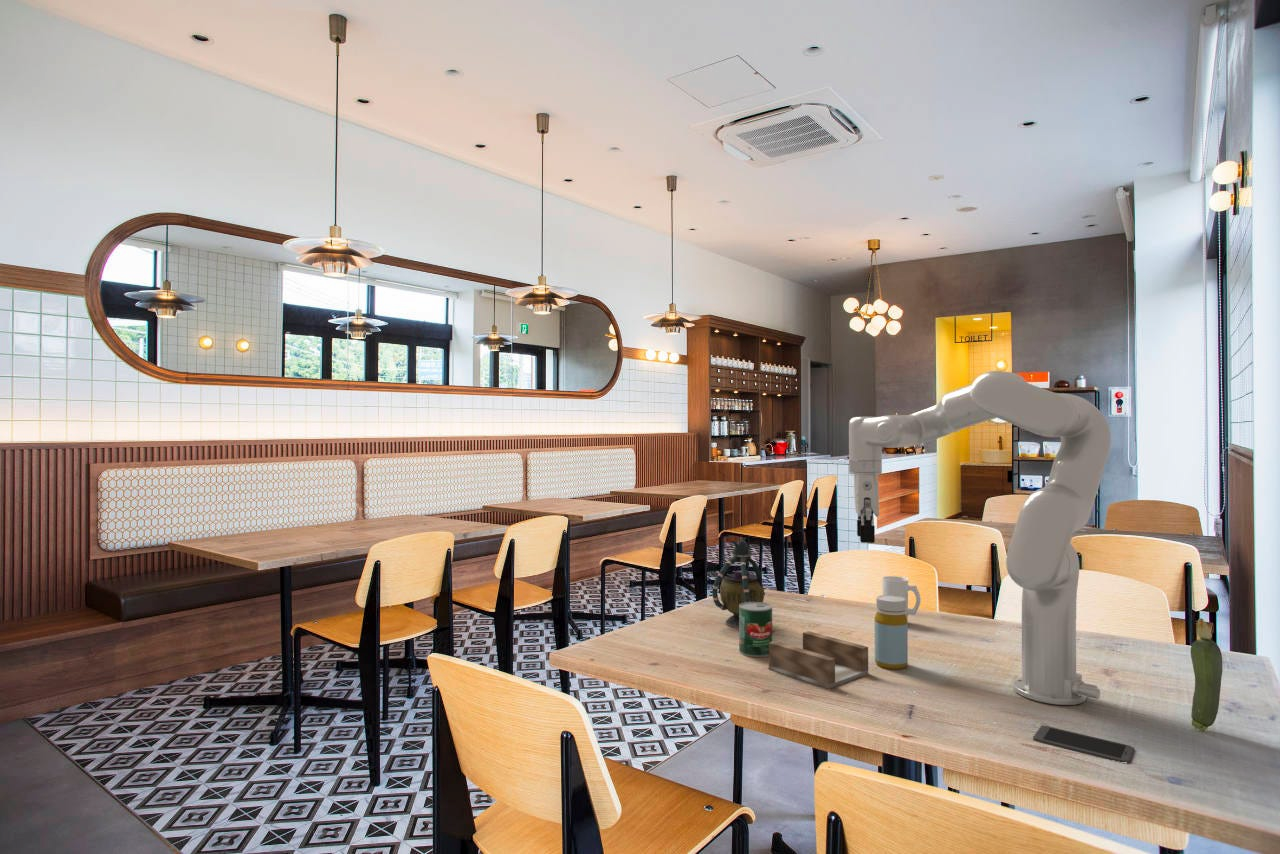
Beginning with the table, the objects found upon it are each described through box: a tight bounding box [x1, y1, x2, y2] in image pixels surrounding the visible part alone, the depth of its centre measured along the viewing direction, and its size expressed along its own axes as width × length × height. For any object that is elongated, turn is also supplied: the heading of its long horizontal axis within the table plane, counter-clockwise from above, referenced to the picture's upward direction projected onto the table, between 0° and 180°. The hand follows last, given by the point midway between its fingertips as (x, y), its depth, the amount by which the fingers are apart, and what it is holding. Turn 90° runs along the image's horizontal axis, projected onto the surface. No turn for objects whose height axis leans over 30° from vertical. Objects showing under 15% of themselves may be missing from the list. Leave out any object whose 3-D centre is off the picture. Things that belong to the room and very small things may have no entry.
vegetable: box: [1190, 617, 1223, 732], centre depth 126 cm, size 4×4×20 cm
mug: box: [881, 575, 921, 621], centre depth 196 cm, size 10×7×12 cm, turn 52°
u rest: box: [768, 630, 869, 689], centre depth 158 cm, size 16×14×6 cm
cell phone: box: [1032, 725, 1135, 764], centre depth 121 cm, size 7×14×1 cm, turn 49°
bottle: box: [874, 594, 909, 670], centre depth 162 cm, size 7×7×15 cm
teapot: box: [711, 538, 766, 629], centre depth 200 cm, size 12×25×23 cm, turn 151°
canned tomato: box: [738, 602, 773, 658], centre depth 172 cm, size 8×8×11 cm
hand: (865, 539), depth 173 cm, fingers open, 9 cm apart
